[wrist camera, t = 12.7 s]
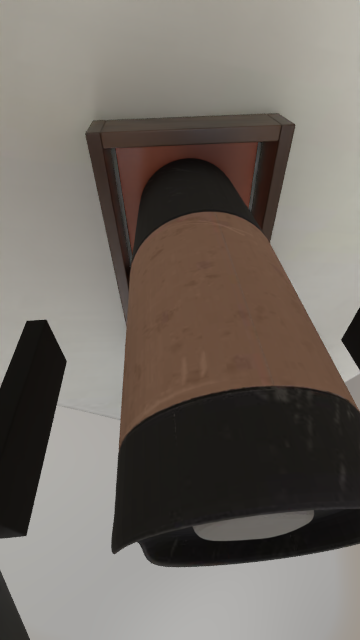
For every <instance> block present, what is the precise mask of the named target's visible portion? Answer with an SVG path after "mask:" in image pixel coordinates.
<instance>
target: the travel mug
mask: <svg viewBox="0 0 360 640" xmlns="http://www.w3.org/2000/svg"><path fill="white" fill-rule="evenodd" d="M135 542H138V543H139V544H140V546H141V548H142V549H143V552H144V555H145V556H146V558H147V560H149V561H150V562H151V563H153V564H155V565H158V566H165V567H197V566H214V565H228V564H239V563H249V562H258V561H266V560H274V559H281V558H289V557H295V556H301V555H308V554H313V553H319V552H324V551H329V550H334V549H339V548H343V547H348V546H352V545H356V544H360V411H359V409H358V407H357V406H356V404H355V402H354V400H353V398H352V396H351V395H350V393H349V391H348V389H347V387H346V385H345V383H344V381H343V379H342V378H341V376H340V374H339V372H338V370H337V368H336V366H335V364H334V363H333V361H332V359H331V357H330V355H329V353H328V351H327V349H326V348H325V346H324V344H323V342H322V340H321V338H320V336H319V334H318V333H317V331H316V329H315V327H314V325H313V323H312V321H311V319H310V318H309V316H308V314H307V312H306V310H305V308H304V306H303V304H302V303H301V301H300V299H299V297H298V295H297V293H296V291H295V289H294V288H293V286H292V284H291V282H290V280H289V278H288V276H287V274H286V273H285V271H284V269H283V267H282V265H281V263H280V261H279V259H278V258H277V256H276V254H275V252H274V250H273V248H272V246H271V245H270V243H269V241H268V239H267V238H266V236H265V234H264V233H263V231H262V230H261V228H260V226H259V225H258V223H257V222H256V220H255V219H254V217H253V215H252V214H251V212H250V211H249V209H248V207H247V206H246V204H245V203H244V201H243V200H242V198H241V196H240V195H239V193H238V192H237V190H236V189H235V187H234V185H233V184H232V182H231V181H230V180H229V178H228V177H227V176H226V175H225V173H224V172H223V171H222V170H220V169H219V168H218V167H217V166H215V165H214V164H212V163H209V162H207V161H204V160H201V159H194V158H186V159H179V160H176V161H173V162H170V163H168V164H166V165H165V166H163V167H161V168H160V169H159V170H158V171H156V172H155V173H154V174H153V175H152V177H151V178H150V179H149V181H148V182H147V184H146V185H145V187H144V190H143V192H142V195H141V199H140V204H139V210H138V218H137V225H136V232H135V240H134V247H133V254H132V262H131V271H130V283H129V299H128V314H127V330H126V345H125V361H124V376H123V392H122V407H121V423H120V438H119V453H118V469H117V483H116V500H115V514H114V523H113V531H112V545H111V548H112V552H113V554H116V553H117V552H118V551H120V550H121V549H122V548H124V547H126V546H128V545H130V544H133V543H135Z"/></svg>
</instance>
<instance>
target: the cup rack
mask: <svg viewBox="0 0 360 640" xmlns="http://www.w3.org/2000/svg"><path fill="white" fill-rule="evenodd" d="M294 129H295V124H294V123H292V122H291V121H289V120H288V119H286V118H285V117H283V116H282V115H280V114H279V113H274V114H247V115H222V116H197V117H172V118H147V119H122V120H97V121H93V122H92V123H91V125H90V127H89V128H88V130H87V131H86V133H85V135H86V139H87V144H88V149H89V153H90V158H91V163H92V167H93V172H94V177H95V181H96V186H97V191H98V195H99V200H100V205H101V209H102V214H103V219H104V223H105V228H106V233H107V237H108V242H109V247H110V251H111V256H112V261H113V265H114V270H115V275H116V279H117V284H118V289H119V293H120V298H121V303H122V307H123V312H124V317H125V321H126V326H127V314H128V299H129V283H130V271H131V267H130V261H129V255H128V249H127V243H126V237H125V231H124V225H123V219H122V213H121V207H120V201H119V195H118V189H117V183H116V177H115V171H114V165H113V159H112V153H111V148H115V150H116V157H117V163H118V169H119V176H120V182H121V188H122V195H123V201H124V208H125V214H126V220H127V227H128V233H129V239H130V246H131V252H132V254H133V247H134V240H135V232H136V225H137V218H138V210H139V204H140V199H141V195H142V192H143V190H144V187H145V185H146V184H147V182H148V181H149V179H150V178H151V177H152V175H153V174H154V173H155V172H156V171H158V170H159V169H160V168H161V167H163V166H165V165H166V164H168V163H170V162H173V161H176V160H179V159H186V158H194V159H201V160H204V161H207V162H209V163H212V164H214V165H215V166H217V167H218V168H219V169H220V170H222V171H223V172H224V173H225V175H226V176H227V177H228V178H229V180H230V181H231V182H232V184H233V185H234V187H235V189H236V190H237V192H238V193H239V195H240V196H241V198H242V200H243V201H244V203H245V204H246V206H247V207H248V208H249V201H250V195H251V188H252V181H253V174H254V167H255V161H256V154H257V147H258V142H262V148H261V154H260V160H259V167H258V173H257V180H256V186H255V192H254V199H253V205H252V212H251V214H252V215H253V217H254V219H255V220H256V222H257V223H258V225H259V226H260V228H261V230H262V231H263V233H264V234H265V236H266V238H267V239H268V241H269V243H270V240H271V235H272V230H273V226H274V221H275V217H276V212H277V208H278V203H279V198H280V194H281V189H282V185H283V180H284V175H285V171H286V166H287V162H288V157H289V152H290V148H291V143H292V139H293V134H294Z"/></svg>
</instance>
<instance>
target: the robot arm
mask: <svg viewBox="0 0 360 640" xmlns="http://www.w3.org/2000/svg"><path fill="white" fill-rule="evenodd" d="M341 340H342V342H343V344H344V345H345V347H346V348H347V350H348V352H349V353H350V355H351V357H352V358H353V360H354V361H355V363H356V365H357V366H358V368H359V370H360V308H359V310H358V311H357V313H356V315H355V317H354V318H353V320H352V322H351V324H350V325H349V327H348V329H347V331H346V332H345V334H344V336H343V338H342V339H341ZM66 362H67V361H66V359H65V357H64V355H63V353H62V351H61V349H60V347H59V344H58V342H57V340H56V338H55V336H54V334H53V332H52V330H51V328H50V326H49V324H48V322H47V320H34V321H27V322H26V324H25V327H24V329H23V332H22V334H21V337H20V339H19V342H18V344H17V347H16V349H15V352H14V354H13V357H12V359H11V362H10V364H9V367H8V370H7V372H6V375H5V377H4V380H3V382H2V385H1V387H0V538H11V537H21V536H26V535H27V530H28V526H29V522H30V518H31V513H32V509H33V505H34V500H35V496H36V492H37V487H38V483H39V479H40V474H41V470H42V466H43V461H44V457H45V453H46V448H47V444H48V440H49V436H50V431H51V427H52V423H53V418H54V414H55V410H56V405H57V401H58V397H59V392H60V388H61V384H62V379H63V375H64V371H65V367H66ZM0 640H30V638H29V636H28V634H27V632H26V629H25V627H24V624H23V622H22V620H21V618H20V615H19V613H18V611H17V608H16V606H15V604H14V601H13V599H12V597H11V594H10V592H9V590H8V588H7V585H6V583H5V580H4V578H3V576H2V573H1V571H0Z"/></svg>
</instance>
